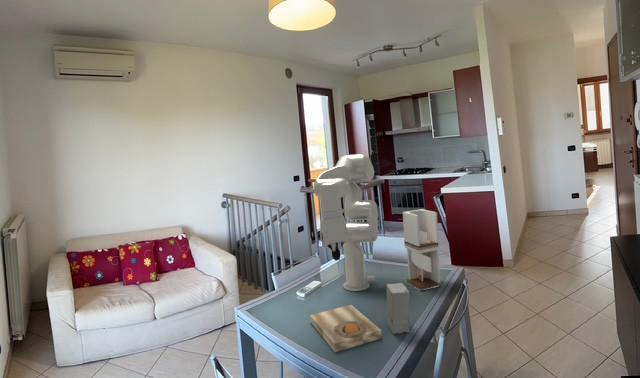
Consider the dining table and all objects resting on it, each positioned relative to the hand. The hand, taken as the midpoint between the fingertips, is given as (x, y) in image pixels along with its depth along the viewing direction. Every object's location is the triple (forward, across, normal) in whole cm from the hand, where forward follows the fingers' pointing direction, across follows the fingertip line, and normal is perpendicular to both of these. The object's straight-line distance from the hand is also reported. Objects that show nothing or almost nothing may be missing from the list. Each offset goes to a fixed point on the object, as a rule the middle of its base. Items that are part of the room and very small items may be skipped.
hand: (336, 259), depth 143 cm
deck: (+24, +4, +10) cm, 26 cm away
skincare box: (+24, -14, +19) cm, 34 cm away
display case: (+26, -46, -8) cm, 54 cm away
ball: (+21, +4, +17) cm, 27 cm away
